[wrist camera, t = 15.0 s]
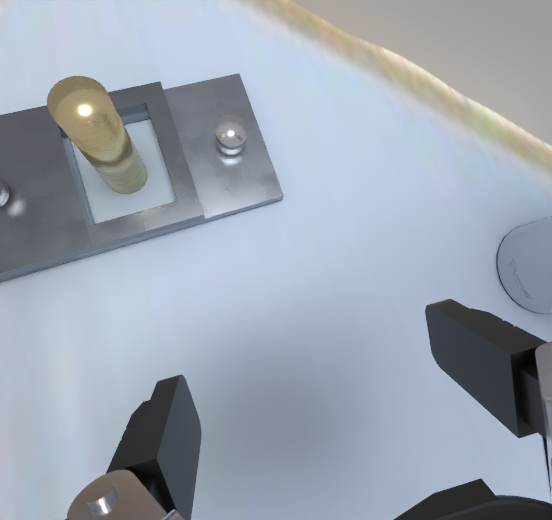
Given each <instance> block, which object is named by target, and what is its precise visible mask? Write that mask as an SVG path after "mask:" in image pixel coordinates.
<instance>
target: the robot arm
mask: <svg viewBox="0 0 552 520" xmlns="http://www.w3.org/2000/svg"><path fill="white" fill-rule="evenodd" d="M497 264H498V272H499V276H500V279H501V282H502V284H503V286H504V287H505V289H506V291H507V292H508V294H509V295H510V296H511V297H512V299H513V300H515V301H516V302H517V303H518V304H519V305H520V306H522V307H524V308H526V309H527V310H530V311H533V312H536V313H545V314H549V313H552V216H550V217H547V218H544V219H541V220H538V221H535V222H532V223H529V224H526V225H524V226H521V227H518V228H516V229H514V230H513V231H511V232H510V233H509V234H508V235H507V236H506V237H505V238H504V240H503V242H502V244H501V245H500V249H499V252H498V262H497ZM425 313H426V320H427V326H428V332H429V339H430V345H431V351H432V354H433V356H434V359H435V361H436V362H437V364H438V365H439V367H440V368H441V369H442V370H443V371H444V372H446V373H447V374H448V375H449V376H450V377H451V378H452V379H453V380H454V381H456V382H457V383H458V384H459V385H460V386H461V387H462V388H463V389H464V390H466V391H467V392H468V393H469V394H470V395H471V396H472V397H473V398H474V399H476V400H477V401H478V402H479V403H480V404H481V405H482V406H483V407H484V408H486V409H487V410H488V411H489V412H490V413H491V414H492V415H493V416H494V417H496V418H497V419H498V420H499V421H500V422H501V423H502V424H503V425H504V426H506V427H507V428H508V429H509V430H510V431H511V432H512V433H513V434H514V435H516V436H517V437H518V438H521V437H525V436H528V435H531V434H534V433H537V432H538V433H539V434H540V435H541V436H542V441H543V451H544V458H545V465H546V473H547V480H548V487H549V494H550V501H551V504H550V503H547V502H544V501H540V500H536V499H531V498H526V497H519V496H506V495H496V496H495V495H494V493H493V492H492V491H491V490H490V489H489V487H488V486H487V485H486V484H485V483H484V481H483V480H482V479H478V480H475V481H472V482H468V483H465V484H462V485H459V486H456V487H453V488H449V489H446V490H443V491H440V492H437V493H434V494H432V495H431V496H429V497H427V498H426V499H424V500H423V501H421V502H420V503H418V504H417V505H415V506H414V507H412V508H411V509H409V510H408V511H406V512H405V513H403V514H402V515H400V516H398V517H397V518H395V519H394V520H552V342H546V341H544V340H542V339H540V338H538V337H536V336H534V335H532V334H530V333H528V332H526V331H524V330H522V329H520V328H518V327H516V326H515V327H514V326H513V325H512V324H510V323H509V322H507V321H503V320H502V319H501V318H499V317H497V316H495V315H493V314H491V313H489V312H485V311H480V310H476V309H469V308H467V307H465V306H463V305H461V304H460V303H458V302H456V301H454V300H452V299H448V300H444V301H440V302H437V303H433V304H430V305H427V306H426V310H425ZM126 428H127V430H125V431H124V434H123V436H122V441H120V443H119V445H118V447H117V450H116V452H115V454H114V456H113V459H112V461H111V463H110V466H109V468H108V470H107V472H106V474H105V475H103V476H101V477H99V478H97V479H96V480H94V481H93V482H92V483H90V484H89V485H88V486H87V487H85V488H84V489H83V490H82V491H81V492H80V493H79V494H78V496H77V497H76V498H75V499H74V501H73V502H72V504H71V506H70V508H69V510H68V514H67V519H65V520H191V514H192V506H193V498H194V491H195V483H196V475H197V467H198V459H199V452H200V444H201V426H200V421H199V417H198V414H197V411H196V408H195V405H194V402H193V399H192V396H191V394H190V391H189V388H188V385H187V382H186V379H185V378H184V376H183V375H178V376H174V377H171V378H167V379H164V380H160V381H158V382H157V384H156V386H155V389H154V392H153V394H152V397H151V399H150V400H149V401H145V402H143V403H142V404H141V405H140V406H139V407H138V408H137V410H136V411H135V412H134V413H133V414H132V416H131V418H130V420H129V422H128V425H127V427H126Z"/></svg>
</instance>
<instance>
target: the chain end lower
mask: <svg viewBox="0 0 552 520" xmlns="http://www.w3.org/2000/svg"><path fill="white" fill-rule="evenodd" d="M163 91H164V94H165V98H166V101H167V104H168V107H169V110H170V113H171V116H172V119H173V122H174V125H175V128H176V131H177V134H178V137H179V140H180V143H181V146H182V149H183V152H184V155H185V158H186V161H187V164H188V167H189V170H190V173H191V176H192V179H193V182H194V185H195V188H196V191H197V194H198V197H199V201H200V204H201V207H202V210H203V213H204V217H205V219H202V220H198V221H195V222H191V223H188V224H184V225H181V226H178V227H174V228H171V229H167V230H164V231H160V232H157V233H153V234H150V235H146V236H143V237H140V238H136V239H133V240H129V241H126V242H122V243H119V244H115V245H112V246H109V247H105V248H102V249H98V250H95V251H91V252H88V253H84V254H81V255H78V256H77V257H79V258H85V257H89V256H92V255H96V254H99V253H102V252H106V251H109V250H113V249H116V248H120V247H123V246H126V245H130V244H133V243H137V242H140V241H144V240H147V239H150V238H154V237H157V236H161V235H164V234H167V233H171V232H174V231H178V230H181V229H185V228H188V227H191V226H195V225H198V224H202V223H205V222H209V221H212V220H215V219H219V218H222V217H226V216H229V215H233V214H236V213H239V212H243V211H246V210H250V209H253V208H257V207H260V206H263V205H267V204H270V203H274V202H277V201H280V200H282V198H283V196H284V195H283V193H282V190H281V187H280V184H279V182H278V179H277V176H276V173H275V171H274V168H273V165H272V162H271V160H270V157H269V154H268V151H267V149H266V146H265V143H264V140H263V138H262V135H261V132H260V129H259V127H258V124H257V121H256V118H255V116H254V113H253V110H252V107H251V104H250V102H249V99H248V96H247V93H246V91H245V88H244V85H243V82H242V80H241V77H240V74H234V75H229V76H225V77H220V78H216V79H211V80H206V81H202V82H197V83H192V84H188V85H183V86H179V87H174V88H169V89H165V90H163ZM150 118H151V116H150V113H149V111H146V112H142V113H137V114H133V115H128V116H124V117H120V119H121V121H122V123H123V125H124V124H128V123H133V122H137V121H142V120H146V119H150ZM64 134H65V137H66V141H67V144H68V148H69V151H70V154H71V158H72V161H73V165H74V168H75V172H76V175H77V179H78V182H79V186H80V189H81V193H82V196H83V200H84V203H85V207H86V210H87V214H88V217H89V221H90V224H91V225H94V221H93V218H92V214H91V211H90V207H89V204H88V200H87V197H86V193H85V190H84V186H83V183H82V180H81V176H80V173H79V169H78V166H77V162H76V159H75V155H74V152H73V148H72V145H71V141H70V138H69V137H68V136H67V134H66V133H65V132H64Z"/></svg>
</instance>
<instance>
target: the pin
mask: <svg viewBox="0 0 552 520" xmlns="http://www.w3.org/2000/svg"><path fill="white" fill-rule="evenodd" d="M47 106H48V110H49V113H50V114H51V116H52V117H53V119H54V120H55V121H56V122H57V123H58V125H59V126H60V127H61V128H62V130H63V131H64V132H65V133H66V134H67V136H68V137H69V138H70V139H71V140H72V142H73V143H74V144H75V145H76V146H77V148H78V149H79V150H80V151H81V152H82V154H83V155H84V156H85V157H86V158H87V160H88V161H89V162H90V163H91V164H92V166H93V167H94V168H95V169H96V171H97V172H98V173H99V174H100V175H101V177H102V178H103V179H104V180H105V181H106V183H107V184H108V185H109V186H110V187H111V188H112V189H113V190H115V191H116V192H119V193H124V194H128V193H133V192H136V191H137V190H139V189H140V188H141V187H142V186H143V185H144V183H145V182H146V178H147V171H146V168H145V166H144V164H143V162H142V160H141V158H140V156H139V154H138V152H137V150H136V148H135V146H134V144H133V142H132V140H131V138H130V136H129V134H128V132H127V130H126V128H125V126H124V125H123V123H122V121H121V119H120V117H119V115H118V113H117V111H116V109H115V107H114V105H113V103H112V101H111V99H110V97H109V95H108V93H107V91H106V89H105V88H104V87H103V86H102V85H101V84H100V83H99V82H97V81H96V80H94V79H92V78H89V77H84V76H72V77H68V78H65V79H63V80H61V81H59V82H58V83H57V84H55V85H54V86H53V88H52V89H51V91H50V92H49V95H48V98H47Z"/></svg>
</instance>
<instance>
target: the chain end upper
mask: <svg viewBox="0 0 552 520" xmlns="http://www.w3.org/2000/svg"><path fill="white" fill-rule="evenodd" d="M108 95H109V97H110V99H111V101H112V103H113V105H114V107H115V109H116V111H117V113H118V115H119V117H124V116H128V115H133V114H137V113H142V112H146V111H149V113H150V116H151V119H152V122H153V126H154V129H155V132H156V135H157V138H158V141H159V144H160V147H161V150H162V154H163V157H164V160H165V163H166V166H167V169H168V172H169V175H170V178H171V181H172V185H173V188H174V191H175V194H176V197H177V200H178V201H177V202H174V203H170V204H166V205H163V206H159V207H156V208H152V209H148V210H145V211H141V212H137V213H134V214H130V215H127V216H123V217H119V218H116V219H112V220H109V221H105V222H101V223H98V224H94V225H91V224H90V221H89V217H88V214H87V210H86V207H85V203H84V200H83V196H82V193H81V189H80V186H79V182H78V179H77V175H76V172H75V168H74V165H73V161H72V158H71V154H70V151H69V148H68V144H67V141H66V137H65V134H64V131H63V130H62V128H61V127H60V126H59V125H58V123H57V122H56V121H55V120H54V119H53V117H52V116H51V114H50V113H49V110H48V106H47V105H46V106H42V107H37V108H32V109H28V110H23V111H18V112H13V113H9V114H4V115H0V282H3V281H7V280H10V279H13V278H17V277H20V276H24V275H27V274H31V273H34V272H37V271H41V270H44V269H48V268H51V267H54V266H58V265H61V264H65V263H68V262H72V261H75V260H78V259H82V258H79V257H77V256H78V255H81V254H84V253H88V252H91V251H95V250H98V249H102V248H105V247H109V246H112V245H115V244H119V243H122V242H126V241H129V240H133V239H136V238H140V237H143V236H146V235H150V234H153V233H157V232H160V231H164V230H167V229H171V228H174V227H178V226H181V225H184V224H188V223H191V222H195V221H198V220H202V219H205V217H204V213H203V210H202V207H201V204H200V201H199V197H198V194H197V191H196V188H195V185H194V182H193V179H192V176H191V173H190V170H189V167H188V164H187V161H186V158H185V155H184V152H183V149H182V146H181V143H180V140H179V137H178V134H177V131H176V128H175V125H174V122H173V119H172V116H171V113H170V110H169V107H168V104H167V101H166V98H165V94H164V91H163V88H162V85H161V82H155V83H150V84H146V85H141V86H136V87H132V88H127V89H122V90H117V91H113V92H108Z"/></svg>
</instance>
